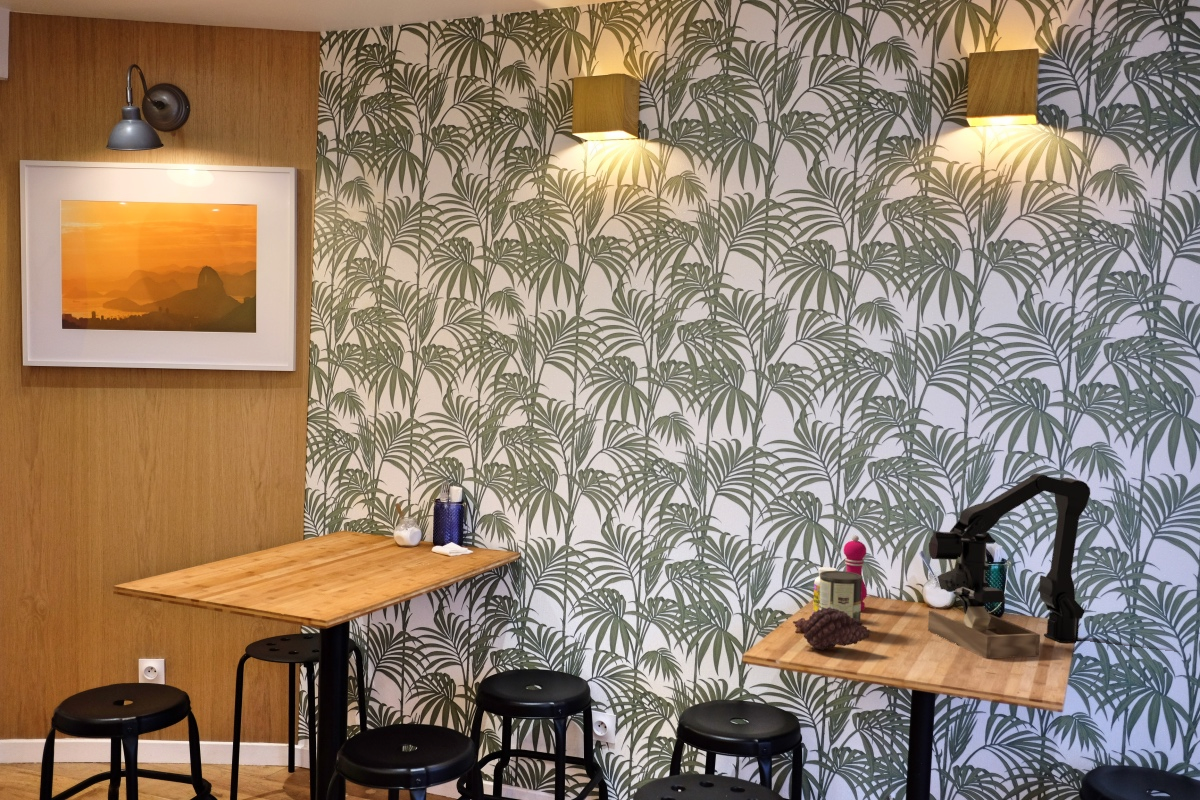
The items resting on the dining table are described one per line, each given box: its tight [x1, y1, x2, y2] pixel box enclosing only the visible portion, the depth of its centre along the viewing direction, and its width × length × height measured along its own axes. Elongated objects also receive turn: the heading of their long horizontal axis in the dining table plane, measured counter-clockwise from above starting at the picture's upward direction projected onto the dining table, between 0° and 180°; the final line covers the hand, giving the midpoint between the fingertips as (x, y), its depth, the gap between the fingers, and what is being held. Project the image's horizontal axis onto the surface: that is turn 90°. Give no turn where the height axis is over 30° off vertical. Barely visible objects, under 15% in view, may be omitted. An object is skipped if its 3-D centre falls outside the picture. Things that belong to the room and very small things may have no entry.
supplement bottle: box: [812, 566, 838, 614], centre depth 274 cm, size 7×7×13 cm
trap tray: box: [927, 610, 1041, 659], centre depth 254 cm, size 14×24×5 cm, turn 15°
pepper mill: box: [843, 534, 868, 612], centre depth 284 cm, size 7×7×20 cm
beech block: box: [962, 606, 991, 632], centre depth 255 cm, size 4×4×4 cm
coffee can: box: [819, 570, 863, 621], centre depth 260 cm, size 10×10×14 cm
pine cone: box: [792, 607, 871, 652], centre depth 243 cm, size 18×10×10 cm, turn 72°
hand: (969, 623), depth 258 cm, fingers closed
